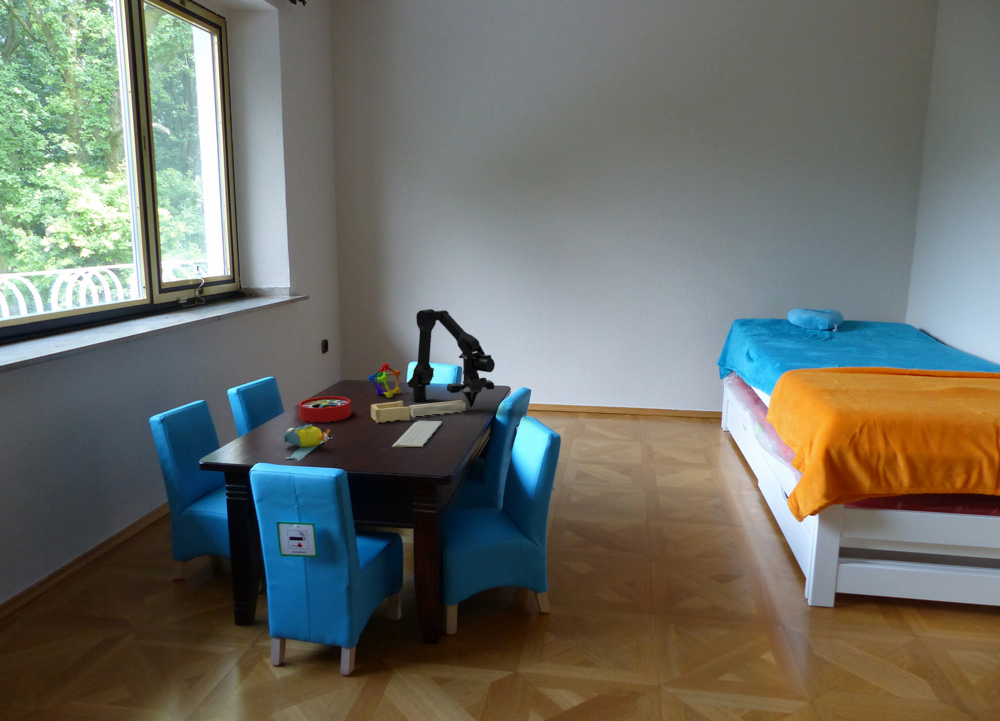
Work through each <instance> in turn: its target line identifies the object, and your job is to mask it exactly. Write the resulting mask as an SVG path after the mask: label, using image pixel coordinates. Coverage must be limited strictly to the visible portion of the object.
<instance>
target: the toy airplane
mask: <svg viewBox="0 0 1000 721" xmlns="http://www.w3.org/2000/svg"><path fill="white" fill-rule="evenodd" d="M330 432H331V428H330V429H329V428H328V429H326V431H324V432H322V429H320V428H319V427H317V426H313V425H312V424H302V425H300V426H294V427H290V428H288V429H287V428H286V429H285V430H284V433H283V441H284V443H289V444H292V445H294V446H298V447H299V448H298V449H296V450H295V451H294V452H293V453H292V454H293V455H292V454H291V455H290V456H291V457H290V456H288V457H285V458H286V459H287V460H293V459H297V460H296V461H301V460H303V459H304V458H305V457H306V456H307V455H308V454H309V453H311V452H313V450H315V449H316V448H317V447H318V446H320V445H322V444H323V443H325V444H327V442H329V440H330V439H333V437H331V438H329V437H328V436H329V433H330Z"/></svg>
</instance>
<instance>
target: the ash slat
mask: <svg viewBox="0 0 1000 721" xmlns="http://www.w3.org/2000/svg"><path fill="white" fill-rule="evenodd" d="M408 407H409V408H410V417H412V418H417V417H416V416H422V417H425V416H424V415H431V416H433V415H432V414H440V415H445V414H444V413H449V414H455V413H454V412H458V413H463V412H462V411H466V412H467V409H466V408H467V405H466V402H465V401H464V400H462V399H459V400H452V401H449V400H448V401H441V402H440V401H439V402H432V403H423V404H422V403H421V404H412V405H408Z"/></svg>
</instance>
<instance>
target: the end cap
mask: <svg viewBox="0 0 1000 721" xmlns="http://www.w3.org/2000/svg"><path fill="white" fill-rule="evenodd" d="M370 416H371V419H373V421H374V420H375V421H376V422H375V421H374V422H375V423H376V424H379V422H381V423H387V422H386V421H390V422H396V421H395V420H400V421H410V420H411V415H410V408H409V406H404V400H398V401H397V400H396V401H392V402H382V403H372V404H370Z"/></svg>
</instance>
